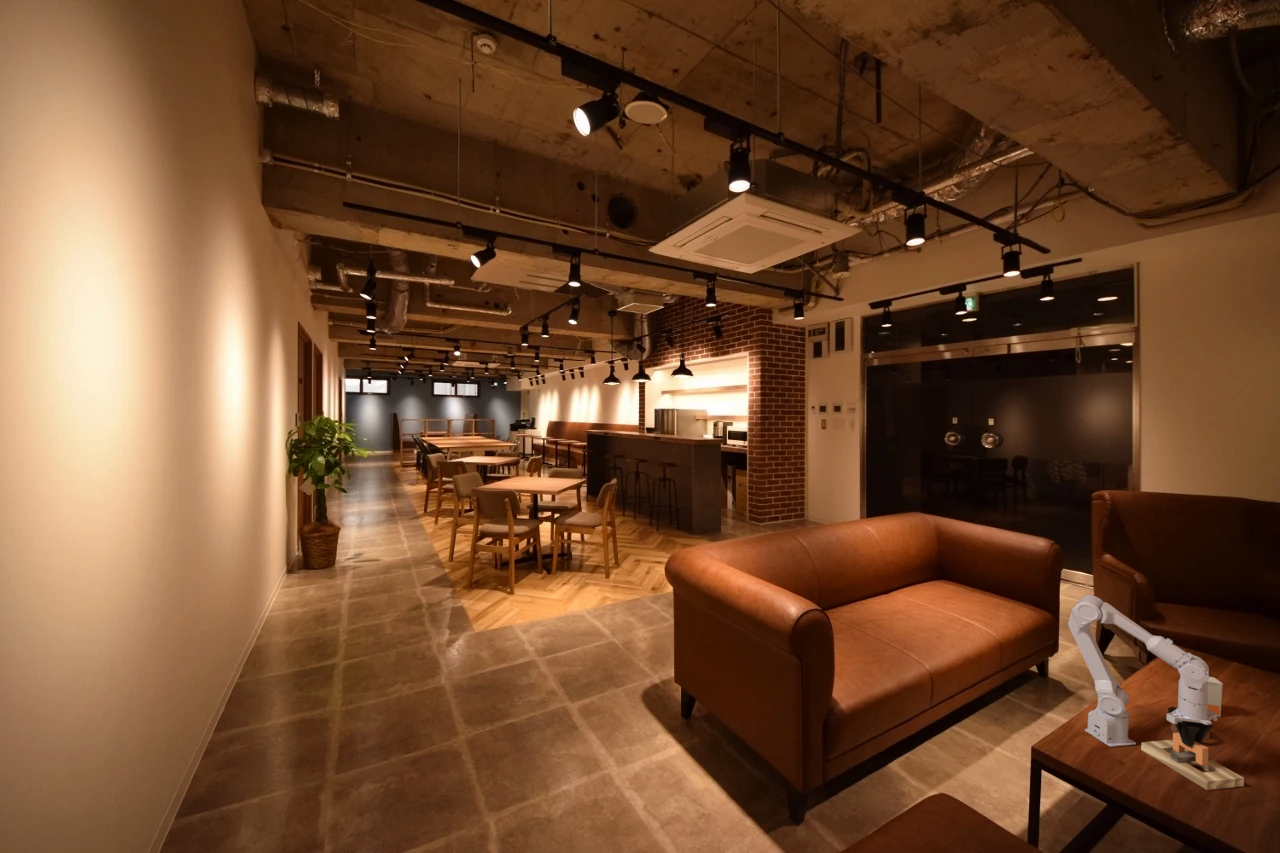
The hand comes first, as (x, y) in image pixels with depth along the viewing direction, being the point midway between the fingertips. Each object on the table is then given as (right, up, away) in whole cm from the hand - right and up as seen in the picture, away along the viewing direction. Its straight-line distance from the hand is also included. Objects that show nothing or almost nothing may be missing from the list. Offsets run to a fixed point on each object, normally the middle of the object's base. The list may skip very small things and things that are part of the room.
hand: (1190, 744), depth 143 cm
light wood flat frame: (0, -7, 0) cm, 7 cm away
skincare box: (+35, -6, +26) cm, 44 cm away
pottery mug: (+16, -7, +15) cm, 23 cm away
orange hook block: (0, -4, 0) cm, 4 cm away
